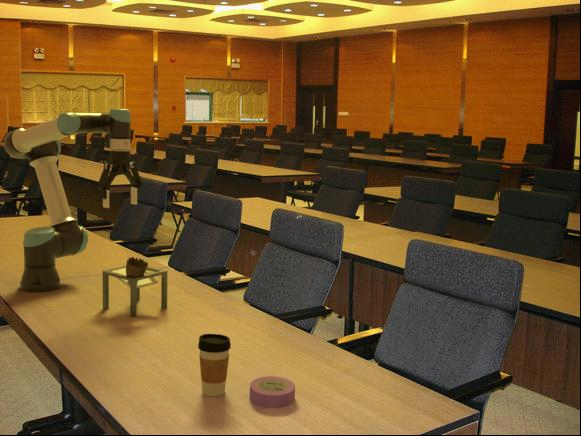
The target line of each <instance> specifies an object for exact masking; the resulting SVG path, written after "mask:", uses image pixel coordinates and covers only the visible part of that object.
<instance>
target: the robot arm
mask: <svg viewBox="0 0 581 436" xmlns="http://www.w3.org/2000/svg"><path fill="white" fill-rule="evenodd" d="M131 118H132V117H131V111H130V110H129V109H127V108H110V110H109V113H104V112H71V111H68V112H62V113H60V114H59V116H57V118H55V119H52V120H49V121H46V122H42V123H40V124H37V125H34V126H31V127H28V128H26V129H24V128H18V129H17V128H16V129H14V130H11V131H9V132H8V133H7V134H6V135H5V137H4V138H3V147H4V150H5V151H6V153H7V154H8V155H9V156H11V157H13V158H15V159H21V160H23V159H25V160H26V159H27V160H28V162H29V166H31V167H33V168H34V169H35V173H36V176H37V180H38V183H39V187H40V190H41V194H42V196H43V200H44V204H45V206H46V211H47V214H48V217H49V221H50V223H49V225H48V226H41V227H40V226H38V227H34V228H30V229H28V230H26V231H25V232H24V234H23V242H22V243H23V265H24V268H23V272H22V275H21V279H20V281H19V289H20V290H22V291H26V292H32V293H34V292H35V293H37V292H48V291H53V290H56V289H59V288H60V287H61V278H60V275H59V273H58V271H57V268H56V267H57V266H56V259H59V258H65V257H70V256H71V257H72V256H75V255H79V254H82V253H83V252H84V251H85V250H86V249H87V245H88V243H89V235H88V231H87V230H86V228H85V227H84V226H83V225H79V222H78V220H77V219H76V218H74V217H73V216H72V213H71V209H70V206H69V202H68V199H67V196H66V193H65V188H64V186H63V182H62V179H61V175H60V173H59V168H58V165H57V161H58V160H59V155H60V154H61V148H62V145H61V141H60V140H61V139H63V138H67V137H70V136H72V135H73V136H75V135H76V134H109V149H110V151H109V160H110V163H106V162H105V163H104V164H103V168H102V169H103V170H102V172H101V175H100V177H99V180H98V182H97V185H96V188H97V190H98V189H99V190H101V199H102V207H103V208H105V209H110V190H108V189H109V188H110V186H111V184H112V183H113V181H115V178H116V177H117V176H121V175H123V176H125V178H126V179H127V180H128V182H129V184H130V185H131V186H132V187H130V204H131V205H138V196H139V188H141V186H143V180H142V178H141V177H140V173H139V171H138V168H137V163H136V162H135V161H131V151H130V150H131V124H132V123H131V122H132V119H131Z"/></svg>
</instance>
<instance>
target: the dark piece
mask: <svg viewBox="0 0 581 436" xmlns="http://www.w3.org/2000/svg"><path fill="white" fill-rule="evenodd" d="M125 266H126V275H127V276H131V277H137V276H143V275H144V274H145V272H147V270H146V269H147V266H149V262H147V260H145V261H144V259H142V258H140V257H139V259H138V257H136V258H135V257H134V256H132V257H128V259H126V264H125ZM128 281H129V280H128ZM129 282H130V281H129ZM137 282H138V281H137Z"/></svg>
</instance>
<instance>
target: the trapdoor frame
mask: <svg viewBox="0 0 581 436" xmlns="http://www.w3.org/2000/svg"><path fill="white" fill-rule="evenodd" d="M123 268H126V265H124V266H119V267H118V266H117V267H114V268H110V269H106V270H105V269H104V270H102V309H103V310H108V309H110V305H109V302H110V297H109V292H110V290H109V289H110V285H109V284H110V282H109V281H110V280H109V278H110V277H115V278H116V277H117V278H121V279H125V280H129V281H130V288H129V292H130V293H129V294H130V295H129V296H130V300H129V302H130V303H129V304H130V305H129V307H130V310H129V318H133V319H134V318H137V316H138V315H137V309H138V308H137V307H138V306H137V301H140V295H141V294H140V291H141V288H137V281H138V280H142V279H146V278H151V277H153V278H155V277H158V276H161V279H160V281H161V293H160V294H161V297H160V299H161V302H160V303H161V305H160V306H161V307H160V308H161V309H163V310H164V309H167V308H168V270H167V269H166V270H165V269H161V268H157V267H155V266H154V267H153V266H149V265H148V266H147V269H146V271H149V272H150V271H151V272H150V273H148V274H146V275H143V276H137V277H131V276H127V275H123V274H119V273H115V272H111V271H114V270H118V269H123ZM117 278H116V279H117Z"/></svg>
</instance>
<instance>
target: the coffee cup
mask: <svg viewBox="0 0 581 436" xmlns="http://www.w3.org/2000/svg"><path fill="white" fill-rule="evenodd" d="M197 348H198V350H199V356H198V357H199V368H200V378H201V379H200V380H201V392H202V394H203V395H204V396H206V397H212V398H213V397H220V396H222V395H224V394H225V392H226V384H227V375H228V369H229V361H230V359H229V358H230V354H229V353H230V349H231V339H230V337H229V336H227V335H223V334H217V333H203V334H201V335H199V338H198V344H197Z"/></svg>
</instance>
